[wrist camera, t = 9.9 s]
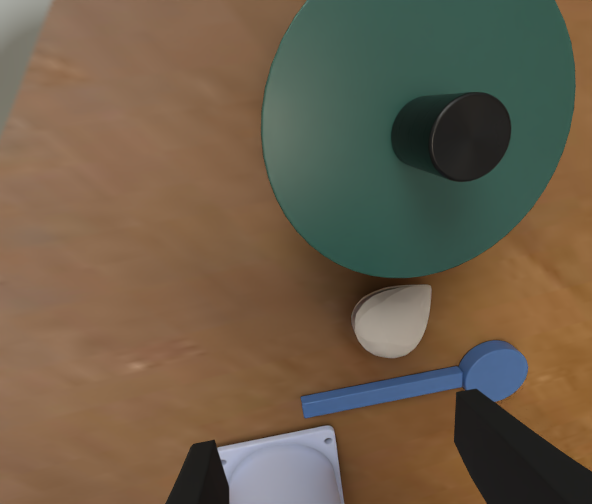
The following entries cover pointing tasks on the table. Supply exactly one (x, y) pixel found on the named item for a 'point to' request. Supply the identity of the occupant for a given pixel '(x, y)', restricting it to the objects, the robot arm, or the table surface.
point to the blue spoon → (433, 381)
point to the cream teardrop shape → (392, 319)
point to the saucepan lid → (415, 126)
